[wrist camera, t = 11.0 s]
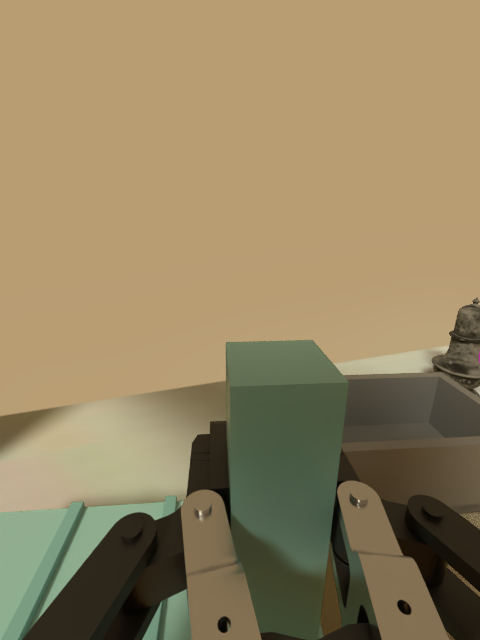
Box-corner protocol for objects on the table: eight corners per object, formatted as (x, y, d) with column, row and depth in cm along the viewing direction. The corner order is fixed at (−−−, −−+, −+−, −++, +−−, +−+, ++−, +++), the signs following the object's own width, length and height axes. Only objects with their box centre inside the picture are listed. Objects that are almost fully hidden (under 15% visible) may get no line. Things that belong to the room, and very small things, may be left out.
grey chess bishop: (465, 381, 41) (488, 293, 37) (494, 406, 35) (525, 305, 32) (418, 378, 42) (436, 291, 38) (439, 402, 36) (463, 303, 32)
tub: (306, 524, 21) (313, 453, 20) (277, 430, 31) (280, 377, 29) (519, 509, 23) (545, 441, 21) (429, 424, 32) (441, 372, 30)
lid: (-432, 1038, 6) (-1300, 673, 3) (-25, 525, 17) (-93, 316, 13) (385, 898, 7) (515, 531, 4) (285, 504, 18) (297, 309, 14)
